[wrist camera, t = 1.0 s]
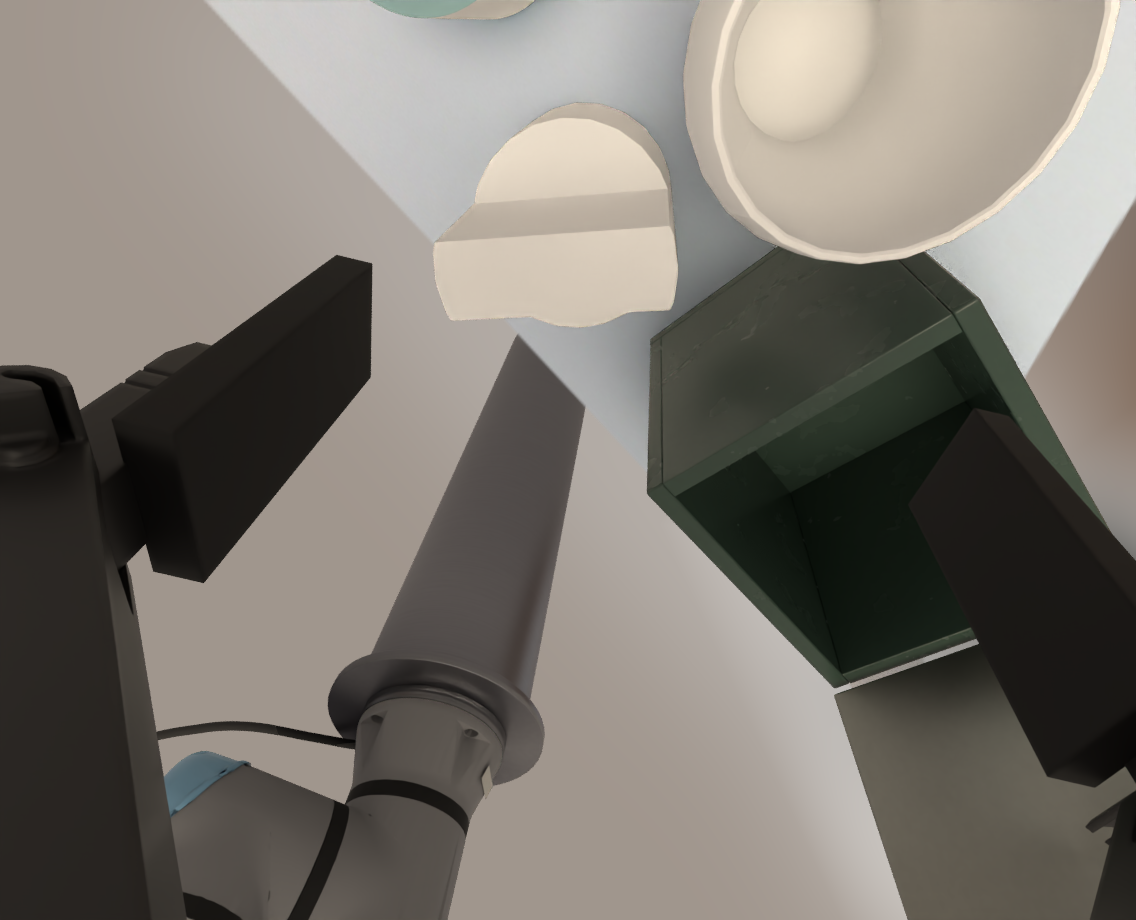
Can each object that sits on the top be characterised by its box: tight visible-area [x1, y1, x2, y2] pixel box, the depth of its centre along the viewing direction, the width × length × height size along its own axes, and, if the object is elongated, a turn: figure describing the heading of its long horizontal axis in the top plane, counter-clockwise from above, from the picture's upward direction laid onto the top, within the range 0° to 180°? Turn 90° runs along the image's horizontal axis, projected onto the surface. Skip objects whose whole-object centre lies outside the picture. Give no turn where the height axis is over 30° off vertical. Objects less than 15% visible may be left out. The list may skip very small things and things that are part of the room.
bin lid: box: [834, 644, 1136, 920], centre depth 21 cm, size 16×13×1 cm
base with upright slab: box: [433, 103, 678, 328], centre depth 28 cm, size 9×9×12 cm
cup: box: [683, 0, 1120, 264], centre depth 22 cm, size 11×11×15 cm
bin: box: [647, 246, 1111, 688], centre depth 30 cm, size 15×13×15 cm
